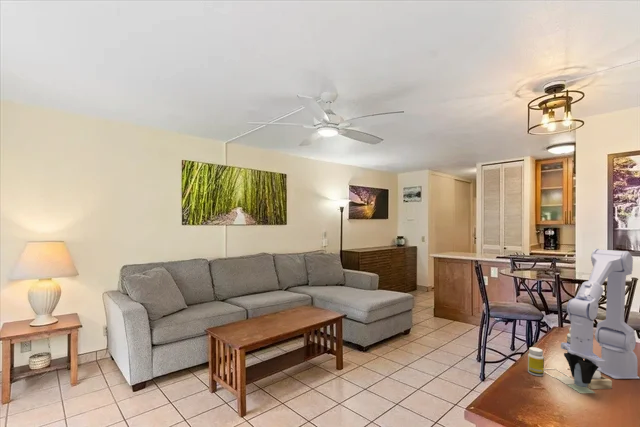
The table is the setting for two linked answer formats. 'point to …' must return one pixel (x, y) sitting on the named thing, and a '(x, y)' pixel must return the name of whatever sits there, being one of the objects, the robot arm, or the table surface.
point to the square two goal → (581, 389)
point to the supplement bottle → (535, 361)
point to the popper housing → (600, 383)
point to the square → (565, 380)
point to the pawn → (578, 376)
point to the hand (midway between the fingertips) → (581, 379)
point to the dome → (597, 375)
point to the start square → (555, 369)
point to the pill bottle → (569, 336)
